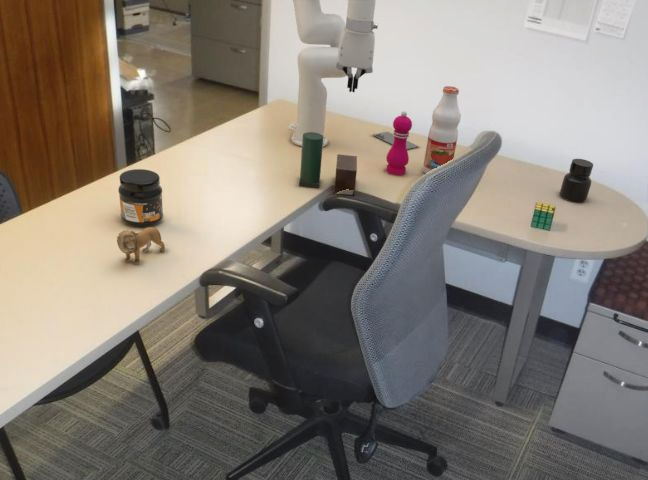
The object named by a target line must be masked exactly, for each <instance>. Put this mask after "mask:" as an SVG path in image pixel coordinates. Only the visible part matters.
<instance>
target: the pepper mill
mask: <svg viewBox="0 0 648 480" xmlns="http://www.w3.org/2000/svg"><path fill="white" fill-rule="evenodd" d="M407 115H408V113H407V112H406V110H405V111H404V110H403V111H401V113H400V115H398V116H396V117H395V118H394V119H393V122H392V127H393V128H394V130H393V133H392V134H393V135H394V143H393V145H392V146H391V147H390V149H389V150H388V152H387V154H386V162H387V164H386V168H385V170H386V173H388V174H390V175H393V176H404V175H405V174H406V170H407V167H406V166H407V165H408V164H409V161H410V157H409V152H408V149H406V141H408V138H409V137H410V136H409V135H410V131H411V130H412V127H413V122H412V120H411V118H410V117H408V116H407Z"/></svg>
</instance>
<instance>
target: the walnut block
mask: <svg viewBox="0 0 648 480" xmlns="http://www.w3.org/2000/svg"><path fill="white" fill-rule="evenodd" d="M357 172H358V156H357V155H348V154H340V153H339V154H336V166H335V174H334V175H335V177H334V187H333V194H334V195H336V194H335V193H337V192H339V191H342V190H346V189H349V190H356V182H357Z"/></svg>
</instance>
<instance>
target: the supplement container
mask: <svg viewBox="0 0 648 480" xmlns="http://www.w3.org/2000/svg"><path fill="white" fill-rule="evenodd" d="M119 184H120V185H119V186H118V189H117V190H118V194H119V195H118V196H119V209H120V218H121V221H122V222H123V223H125V224H126V225H128V226H131V227H134V228H147V227H154V226H156V225H158V224H160V223H161V222H162V220H164V219H163V218H164V211H163V210H164V209H163V187H162V186H161V179H160V175H159V174H158V173H157V172H155V171H153V170H150V169H144V168H143V169H142V168H138V169H137V168H136V169H129V170H126V171H123V172H122V173H121V174H120V175H119Z"/></svg>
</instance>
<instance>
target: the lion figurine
mask: <svg viewBox="0 0 648 480" xmlns="http://www.w3.org/2000/svg"><path fill="white" fill-rule="evenodd" d="M152 242H153V243H154V244H155V245H158V246H160V248H159V252H161V253H164V252H165V250H166V249H165V243H164V241H162V236H161V232H160V230H159V229H158V228H157V227H154V226H150V227H144V228H143V229H142V230H140V231H139V232H135V231H134V230H123V231H121V232H119V233H118V235H117V236H116V243H117V246H118V249H119V250H120V251H121V252H122V253H123V254H125V258H124V263H125V262H126V263H128V262H130V261H131V255H132V254H134V264H135V265H140V264H141V259H140V250H141V248H143V249H142V252H144V253H146V252H148V251H150V248H151V246H152ZM144 247H145V248H144Z"/></svg>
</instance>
